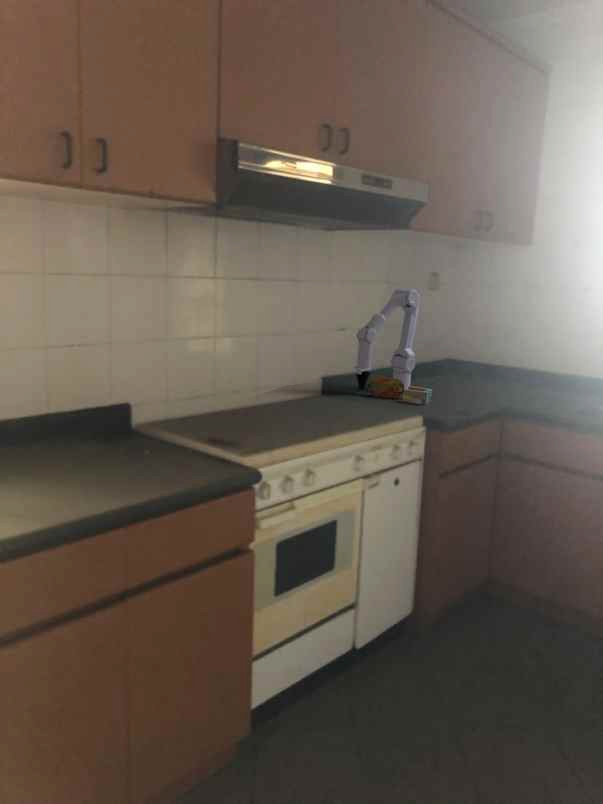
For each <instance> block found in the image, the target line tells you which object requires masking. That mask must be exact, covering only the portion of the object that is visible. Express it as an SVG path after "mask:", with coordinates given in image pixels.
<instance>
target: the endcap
mask: <svg viewBox="0 0 603 804" xmlns="http://www.w3.org/2000/svg"><path fill="white" fill-rule="evenodd" d="M432 394H433V389H432V388H425V387H418V386H411V385H410V386H409V387H408V389H404V393H403V394H402V403H407V402H408V404H413V405H414V404H415V405H416V404H417V405H422V406H427V405H428V404H430V403H431V402H432Z"/></svg>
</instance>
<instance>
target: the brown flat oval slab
mask: <svg viewBox="0 0 603 804" xmlns="http://www.w3.org/2000/svg"><path fill="white" fill-rule="evenodd" d="M367 391H368V392H369V394H370V395H371V396H373V397H375V396H378V397H377V398H383V397H385V399H392V398H394V399H393V400H395V399H399V398H400V397H402V396H403V392H404V384H403V382H402V381H401V380H399V379H396V378H393V377H386V376H374V377H372V378H371V379H370V380H368V382H367Z"/></svg>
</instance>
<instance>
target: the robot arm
mask: <svg viewBox="0 0 603 804" xmlns="http://www.w3.org/2000/svg"><path fill="white" fill-rule="evenodd" d="M419 301H420V295H419V293H418V291H416V290H415V289H408V288H407V289H406V288H396V289H394V291H393V292H392V293H391V295H390V299H389V300H388V301H387V303H386V304H385V305H384V307H383V309H382V310H381V311H380V312H379V313H375V314H373V315H372V316H371V319H370V320H369V321H368V322H367V323H366V324H365V325H364V326H363V327H361V328H360V329H358V331H357V333H356V340H358V341H357V344H358V350H357V360H356V365H354V366H353V369H355V370H356V371H355V376H356V379H357V385H358V389H359V390H365V389H366V385H367V384H368V381H369V377H370V376H371V374H372V372H370V371H371V370H372V368H371V367H372V358H373V357H372V355H373V345H374V342H375V341H376V340H377V337H378V334H379V332H380V331H381V330H382V329H383V327H385V325H386V323H387V321H386V319H388V317H389V316H391V315H392V314H393V312H395V310H397V308H399V307H401V308H402V310H404V311H403V312H404V316H403V323H402V328H401V334H400V339H399V344H398V348H397V349H395V351H394V353H393V355H392V357H391V360H390V365H391V367H392V371H393V374H392V375H393V376H392V378H396V379H399V380H401V381H402V382H403V384H404V389H408V387H409V386H411V379H412V375H411V373H412V372H413V370H414V369H415V367H416V354H415V353H414V352H413V345H414V344H413V343H414V338H415V333H416V327H417V320H418V316H419V315H418V314H419ZM403 393H404V392H403Z"/></svg>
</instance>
